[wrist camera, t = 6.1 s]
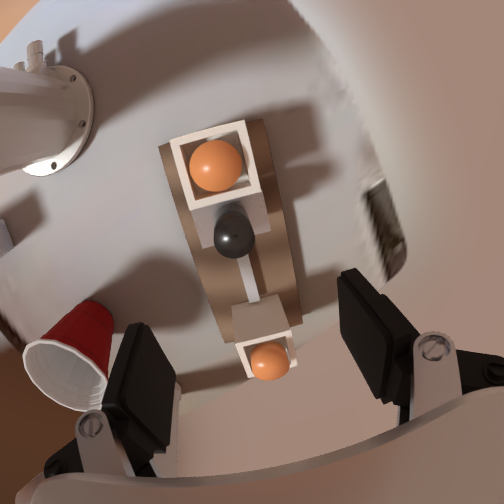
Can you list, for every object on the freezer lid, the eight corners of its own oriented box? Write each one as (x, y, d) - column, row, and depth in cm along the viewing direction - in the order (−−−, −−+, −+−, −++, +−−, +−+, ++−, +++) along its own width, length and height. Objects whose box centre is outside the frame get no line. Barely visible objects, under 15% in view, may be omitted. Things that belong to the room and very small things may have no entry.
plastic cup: (149, 328, 33) (131, 401, 22) (102, 357, 35) (79, 420, 24) (91, 266, 29) (45, 327, 18) (49, 305, 30) (10, 362, 19)
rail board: (161, 146, 25) (155, 147, 23) (260, 119, 25) (264, 118, 23) (224, 335, 35) (225, 348, 33) (300, 316, 35) (305, 328, 33)
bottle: (185, 381, 38) (182, 539, 15) (178, 399, 40) (173, 541, 17) (152, 372, 37) (132, 531, 14) (147, 391, 38) (130, 533, 16)
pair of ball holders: (183, 139, 25) (169, 140, 18) (237, 124, 25) (244, 119, 18) (241, 331, 35) (248, 378, 28) (282, 321, 35) (297, 365, 28)
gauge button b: (246, 346, 26) (248, 361, 24) (282, 337, 26) (286, 351, 24) (254, 369, 27) (256, 383, 26) (287, 361, 27) (292, 375, 26)
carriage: (193, 200, 25) (183, 226, 18) (257, 184, 25) (272, 203, 18) (204, 236, 26) (199, 273, 19) (265, 220, 26) (282, 252, 20)
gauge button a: (186, 147, 19) (183, 148, 18) (233, 134, 19) (235, 134, 18) (199, 191, 21) (197, 197, 19) (244, 179, 21) (247, 184, 19)
